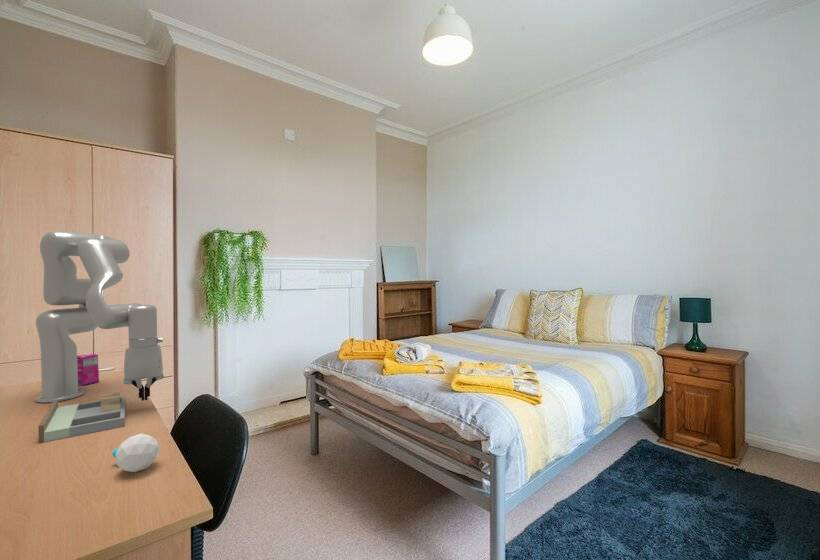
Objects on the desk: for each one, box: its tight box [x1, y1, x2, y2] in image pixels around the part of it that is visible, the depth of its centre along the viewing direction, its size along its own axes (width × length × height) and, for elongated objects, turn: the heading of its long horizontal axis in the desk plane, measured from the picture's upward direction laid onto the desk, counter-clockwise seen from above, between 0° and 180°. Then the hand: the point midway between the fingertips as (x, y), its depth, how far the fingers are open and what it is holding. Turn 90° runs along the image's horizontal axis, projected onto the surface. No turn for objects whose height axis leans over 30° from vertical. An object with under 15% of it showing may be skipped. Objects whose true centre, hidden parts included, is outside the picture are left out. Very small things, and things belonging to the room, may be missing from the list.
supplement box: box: [77, 352, 100, 387], centre depth 151 cm, size 6×6×12 cm
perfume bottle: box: [111, 432, 160, 473], centre depth 87 cm, size 8×8×12 cm
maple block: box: [100, 392, 121, 412], centre depth 117 cm, size 4×4×4 cm
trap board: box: [38, 396, 127, 444], centre depth 114 cm, size 23×18×4 cm
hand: (144, 399), depth 122 cm, fingers closed
